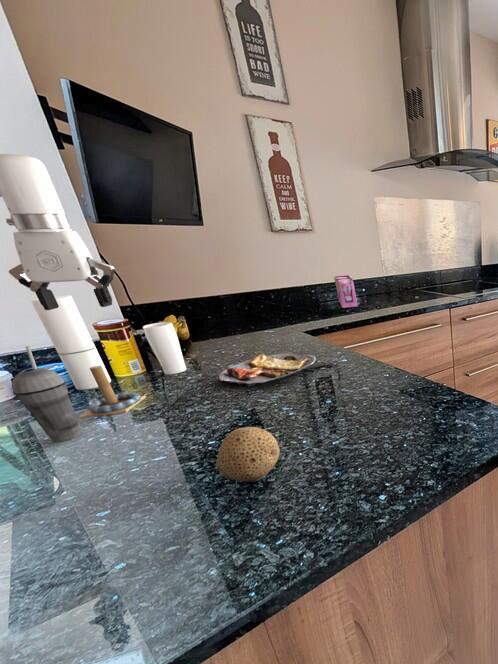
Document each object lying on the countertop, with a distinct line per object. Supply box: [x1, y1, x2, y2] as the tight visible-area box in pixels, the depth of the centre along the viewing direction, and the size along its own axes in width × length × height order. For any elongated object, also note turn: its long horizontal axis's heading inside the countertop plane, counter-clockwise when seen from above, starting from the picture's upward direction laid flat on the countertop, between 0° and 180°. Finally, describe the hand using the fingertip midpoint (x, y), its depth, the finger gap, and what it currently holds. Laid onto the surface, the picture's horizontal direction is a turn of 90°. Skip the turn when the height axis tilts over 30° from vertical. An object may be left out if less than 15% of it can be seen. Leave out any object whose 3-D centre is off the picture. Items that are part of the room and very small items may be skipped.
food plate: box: [217, 352, 317, 386], centre depth 116 cm, size 25×23×4 cm
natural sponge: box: [215, 426, 281, 483], centre depth 66 cm, size 9×9×10 cm
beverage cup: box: [11, 345, 83, 443], centre depth 80 cm, size 7×7×20 cm
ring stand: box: [78, 366, 147, 419], centre depth 94 cm, size 9×9×11 cm
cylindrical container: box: [30, 294, 112, 391], centre depth 106 cm, size 7×7×25 cm
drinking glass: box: [142, 321, 187, 375], centre depth 116 cm, size 7×7×15 cm
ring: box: [88, 392, 141, 413], centre depth 95 cm, size 9×9×1 cm
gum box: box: [333, 274, 359, 309], centre depth 209 cm, size 24×8×14 cm, turn 27°
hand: (80, 307), depth 87 cm, fingers open, 9 cm apart
